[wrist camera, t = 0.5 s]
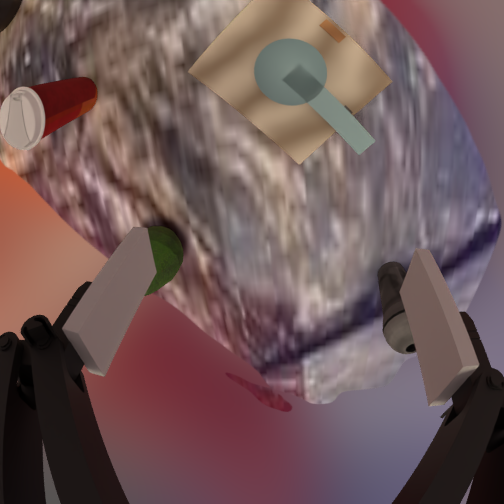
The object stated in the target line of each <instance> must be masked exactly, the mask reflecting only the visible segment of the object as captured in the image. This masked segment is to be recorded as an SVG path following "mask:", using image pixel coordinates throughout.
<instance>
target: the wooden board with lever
mask: <svg viewBox="0 0 504 504" xmlns="http://www.w3.org/2000/svg"><path fill="white" fill-rule="evenodd" d="M288 38H290V39H298V40H302V41H304V42H307V43H309V44H310V45H312V46H313V47H314V48H316V49H317V50H318V51H319V53H320V54H321V55H322V57H323V59H324V61H325V63H326V67H327V79H326V83H325V86H324V87H325V88H326V89H327V90H328V91H329V92H330V93H331V94H332V95H333V96H334V97H335V98H336V99H337V100H338V101H339V102H340V103H341V104H342V105H343V106H344V107H345V108H346V109H347V110H348V111H349V112H350V113H351V114H352V115H353V116H354V115H355V114H356V113H357V112H358V111H359V110H360V109H362V108H363V107H364V106H365V105H366V104H367V103H368V102H370V101H371V100H372V99H373V98H374V97H375V96H376V95H378V94H379V93H380V92H381V91H382V90H383V89H384V88H386V87H387V86H388V85H389V84H390V83H391V82H392V81H391V80H390V78H389V77H388V76H387V75H386V74H385V73H384V72H383V70H382V69H381V68H380V67H379V66H378V65H377V64H376V63H375V62H374V61H373V59H372V58H371V57H370V56H369V55H368V54H367V53H366V52H365V51H364V50H363V49H362V48H361V47H360V46H359V45H358V44H357V43H356V42H355V41H354V40H353V39H352V38H351V37H350V36H349V35H348V34H347V33H346V32H345V31H343V30H342V29H341V28H340V27H339V26H338V25H337V24H336V23H335V22H334V21H333V20H331V19H330V18H329V17H328V16H327V15H326V14H325V13H323V12H322V11H321V10H320V9H319V8H317V7H316V6H315V5H314V4H313V3H311V2H310V1H309V0H252V1H251V2H250V3H249V4H248V5H247V6H246V7H245V8H244V9H243V10H242V11H241V12H240V13H239V14H238V15H237V16H236V17H235V18H234V19H233V21H232V22H231V23H230V24H229V25H228V26H227V27H226V28H225V29H224V30H223V31H222V32H221V33H220V34H219V36H218V37H217V38H216V39H215V40H214V41H213V42H212V43H211V45H210V46H209V47H208V48H207V49H206V50H205V51H204V53H203V54H202V55H201V56H200V57H199V59H198V60H197V61H196V62H195V63H194V65H193V66H192V67H191V68H190V70H189V71H188V73H190V74H191V75H192V76H194V77H195V78H196V79H198V80H199V81H200V82H202V83H203V84H204V85H206V86H207V87H208V88H210V89H211V90H212V91H213V92H215V93H216V94H217V95H219V96H220V97H221V98H222V99H224V100H225V101H226V102H227V103H229V104H230V105H231V106H232V107H233V108H235V109H236V110H237V111H238V112H240V113H241V114H242V115H243V116H244V117H246V118H247V119H248V120H249V121H250V122H252V123H253V124H254V125H255V126H256V127H257V128H259V129H260V130H261V131H262V132H263V133H264V134H266V135H267V136H268V137H269V138H270V139H271V140H272V141H274V142H275V143H276V144H277V145H278V146H279V147H280V148H281V149H283V150H284V151H285V152H286V153H287V154H288V155H289V156H290V157H291V158H292V159H294V160H295V161H296V162H297V163H298V164H299V165H300V164H301V163H302V162H303V161H304V160H305V159H306V158H307V157H308V156H309V155H310V154H312V153H313V152H314V151H315V150H316V149H317V148H318V147H319V146H320V145H321V144H323V143H324V142H325V141H326V140H327V139H328V138H329V137H330V136H331V135H332V134H334V133H335V132H336V130H335V129H334V128H333V127H332V126H331V125H330V124H329V123H328V122H327V121H326V120H325V119H324V118H323V117H322V116H321V115H320V114H319V113H318V112H316V111H315V110H314V109H313V108H312V107H311V106H310V105H309V104H308V103H304V104H301V105H293V106H291V105H283V104H279V103H277V102H274V101H273V100H271V99H269V98H268V97H267V96H266V95H265V94H263V92H262V91H261V90H260V88H259V87H258V85H257V83H256V80H255V75H254V66H255V62H256V59H257V57H258V55H259V54H260V52H261V51H262V50H263V49H264V48H265V47H266V46H267V45H269V44H270V43H272V42H274V41H277V40H281V39H288Z"/></svg>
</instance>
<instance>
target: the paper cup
mask: <svg viewBox="0 0 504 504" xmlns="http://www.w3.org/2000/svg"><path fill="white" fill-rule="evenodd" d="M96 100H97V88H96V85H95V84H94V82H93V81H92V80H91V79H89V78H86V77H79V78H72V79H66V80H60V81H55V82H50V83H44V84H39V85H35V86H31V87H19V88H17V89H15V90H14V91H13V92H12V93H11V94H10V95H9V96H8V97H7V98H6V99H5V100H4V102H3V104H2V106H1V110H0V129H1V132H2V135H3V137H4V138H5V140H6V141H7V142H8V144H9V145H11V146H12V147H14V148H16V149H19V150H30V149H32V148H33V147H34V146H36V145H37V144H38V143H39V141H40V140H41V139H42V138H44V137H45V136H47V135H49V134H50V133H52V132H53V131H55V130H57V129H58V128H60V127H62V126H64V125H65V124H67V123H69V122H70V121H72V120H74V119H76V118H77V117H79V116H81V115H83V114H84V113H86V112H88V111H89V110H91V109H92V108H93V106H94V105H95V103H96Z"/></svg>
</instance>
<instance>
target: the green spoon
mask: <svg viewBox="0 0 504 504" xmlns="http://www.w3.org/2000/svg"><path fill="white" fill-rule="evenodd" d="M254 75H255V80H256V83H257V85H258V87H259V88H260V90H261V91H262V92H263V94H265V95H266V96H267V97H268V98H269V99H271V100H273V101H274V102H277V103H279V104H283V105H291V106H293V105H301V104H304V103H308V104H309V105H310V106H311V107H312V108H313V109H314V110H315V111H316V112H318V113H319V114H320V115H321V116H322V117H323V118H324V119H325V120H326V121H327V122H328V123H329V124H330V125H331V126H332V127H333V128H334V129H335V130H336V131H337V132H338V133H339V134H340V135H341V137H342V138H343V139H344V140H345V141H346V142H347V143H348V144H349V145H350V146H351V147H352V148H353V149H354V150H355V151H356V152H357V154H358V155H360V154H361V153H362V152H363V151H365V150H366V149H367V148H368V147H369V146H370V145H372V144H373V143H374V142H375V140H374V139H373V138H372V136H371V135H370V134H369V133H368V132H367V131H366V130H365V129H364V127H363V126H362V125H361V124H360V123H359V122H358V121H357V120H356V119H355V118H354V117H353V115H352V114H351V113H350V112H349V111H348V110H347V109H346V108H345V107H344V106H343V105H342V104H341V103H340V102H339V101H338V100H337V99H336V98H335V97H334V96H333V95H332V94H331V93H330V92H329V91H328V90H327V89H326V88H325V87H324V86H325V83H326V79H327V67H326V63H325V61H324V59H323V57H322V55H321V54H320V53H319V51H318V50H317V49H316V48H314V47H313V46H312V45H310V44H309V43H307V42H304V41H302V40H298V39H290V38H288V39H281V40H277V41H274V42H272V43H270V44H269V45H267V46H266V47H265V48H264V49H263V50H262V51H261V52H260V54H259V55H258V57H257V59H256V62H255V66H254Z"/></svg>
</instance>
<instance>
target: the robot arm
mask: <svg viewBox="0 0 504 504" xmlns="http://www.w3.org/2000/svg"><path fill="white" fill-rule="evenodd" d="M21 1H22V0H0V32H1V31H2V30H3V29H4V28H5V27H6V26H7V25H8V24H9V23H10V21H11V20H12V19H13V17H14V15H15V14H16V12H17V10H18V8H19V6H20V4H21ZM156 273H157V271H156V267H155V263H154V258H153V254H152V249H151V244H150V239H149V234H148V229H147V228H142V227H133V228H132V229H131V231H130V232H129V233H128V235H127V236H126V237H125V238H124V240H123V241H122V242H121V244H120V245H119V246H118V248H117V249H116V250H115V252H114V253H113V254H112V256H111V257H110V258H109V260H108V261H107V263H106V264H105V266H104V267H103V268H102V270H101V271H100V272H99V274H98V275H97V277H96V278H95V280H94V281H93V282H85V283H84V284H83V285H82V286H80V287H79V288H78V289H77V290H76V292H75V293H74V295H73V296H72V299H70V300H69V302H68V304H67V305H66V306H65V308H64V309H63V311H62V312H61V314H60V315H59V317H58V318H57V320H56V321H55V323H54V324H53V326H52V325H51V323H50V322H49V320H48V318H47V317H45V316H44V315H36V316H33V317H31V318H29V319H28V320H27V321H26V322H25V323H24V324H23V326H22V328H21V334H22V336H23V337H24V338H25V340H19V338H18V337H17V335H16V334H15V333H13V332H6V333H4V334H2V335H1V336H0V504H46V499H45V489H44V475H43V448H42V446H43V443H44V447H45V452H46V456H47V460H48V464H49V467H50V471H51V474H52V478H53V481H54V484H55V488H56V490H57V494H58V497H59V500H60V503H61V504H129V502H128V500H127V498H126V496H125V493H124V491H123V489H122V487H121V485H120V482H119V480H118V478H117V476H116V473H115V471H114V468H113V466H112V463H111V461H110V458H109V456H108V453H107V450H106V447H105V445H104V442H103V439H102V436H101V434H100V430H99V427H98V424H97V421H96V418H95V415H94V412H93V408H92V405H91V402H90V398H89V395H88V391H87V387H86V384H85V380H84V375H83V373H82V372H81V369H82V367H83V365H85V366H86V367H87V369H88V371H89V372H90V373H94V374H97V375H100V376H105V375H106V373H107V370H108V368H109V366H110V364H111V362H112V360H113V357H114V355H115V353H116V351H117V349H118V347H119V345H120V343H121V341H122V339H123V337H124V335H125V333H126V330H127V329H128V327H129V325H130V322H131V320H132V319H133V317H134V314H135V313H136V311H137V309H138V307H139V305H140V303H141V301H142V299H143V297H144V295H145V293H146V291H147V290H148V288H149V286H150V284H151V282H152V280H153V278H154V277H155V275H156ZM400 295H401V298H402V302H403V305H404V308H405V312H406V315H407V318H408V322H409V325H410V329H411V332H412V336H413V340H414V344H415V347H416V351H417V355H418V359H419V363H420V367H421V372H422V376H423V381H424V385H425V390H426V395H427V400H428V406H436V405H444V404H445V403H446V402H447V401H448V400H449V399H450V398H451V397H452V401H453V405H452V406H451V407H450V408H448V409H447V410H446V411H445V412H444V413H443V415H442V416H441V418H443V417H444V416H445V415H446V416H445V418H444V420H443V422H442V424H441V426H440V428H439V430H438V432H437V434H436V436H435V437H434V439H433V441H432V443H431V444H430V446H429V448H428V450H427V451H426V453H425V455H424V456H423V458H422V460H421V461H420V463H419V465H418V466H417V468H416V469H415V471H414V473H413V474H412V475H411V477H410V479H409V480H408V481H407V483H406V485H405V486H404V487H403V489H402V490H401V492H400V493H399V494H398V496H397V497H396V498H395V500H394V501H393V502H392V504H460V503H461V501H462V499H463V497H464V495H465V493H466V491H467V489H468V487H469V485H470V483H471V481H472V479H473V482H472V485H471V489H470V493H469V496H468V499H467V502H466V504H504V377H503V375H502V374H501V373H500V372H499V371H498V370H496V369H494V368H491V365H490V363H489V360H488V357H487V354H486V352H485V349H484V347H483V344H482V342H481V340H480V337H479V334H478V332H477V329H476V327H475V325H474V322H473V320H472V319H471V318H470V317H469V315H468V314H467V313H466V312H459V311H458V308H457V306H456V304H455V302H454V299H453V297H452V295H451V293H450V291H449V288H448V286H447V284H446V282H445V280H444V278H443V276H442V274H441V272H440V270H439V268H438V266H437V264H436V262H435V260H434V258H433V256H432V254H431V252H430V250H426V249H415V252H414V255H413V258H412V260H411V263H410V266H409V269H408V271H407V274H406V277H405V279H404V282H403V284H402V287H401V289H400ZM17 380H18V382H17ZM42 439H43V443H42ZM473 477H474V478H473Z"/></svg>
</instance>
